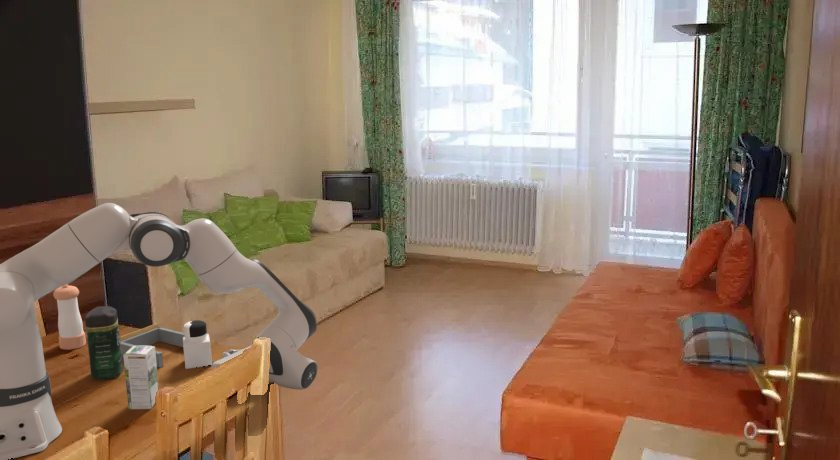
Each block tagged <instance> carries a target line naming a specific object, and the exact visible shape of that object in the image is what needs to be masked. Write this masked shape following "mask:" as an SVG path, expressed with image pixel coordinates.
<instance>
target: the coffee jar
mask: <svg viewBox="0 0 840 460" xmlns="http://www.w3.org/2000/svg"><path fill="white" fill-rule="evenodd" d="M84 324H85V332H86V333H85V334H86V338H87V339H86V342H87V347H88V358H89V367H90V376H91V378H92V379H93V380H101V381H106V380H110V379H113V378H116V377H117V378H118V377H119V376H120V375H121V374H122V372H123V370H124V361H123V357H122V354H121V345H120V337H121V336H120V328H119V327H120V326H119V318H118V311H117V309H116V308H114V307H113V306H111V305H104V306H95V307H94V308H92V309H91V310H89V311H88V312H87V314H86V315H85V317H84Z"/></svg>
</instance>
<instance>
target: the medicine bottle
mask: <svg viewBox="0 0 840 460" xmlns="http://www.w3.org/2000/svg"><path fill="white" fill-rule="evenodd" d="M183 333H184V336H185V337H183V347H182V348H183V357H184V367H185V369H186V370H189V369H196V367H197V368H203V366H205V367H209V366H208V365H211V366H212V363H213V359H212V347H211V346H212V345H211V339H210V333H208V329H207V323H206V322H205V321H204V320H197V319H195V320H190V321H187V322H186V323H184V325H183Z"/></svg>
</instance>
